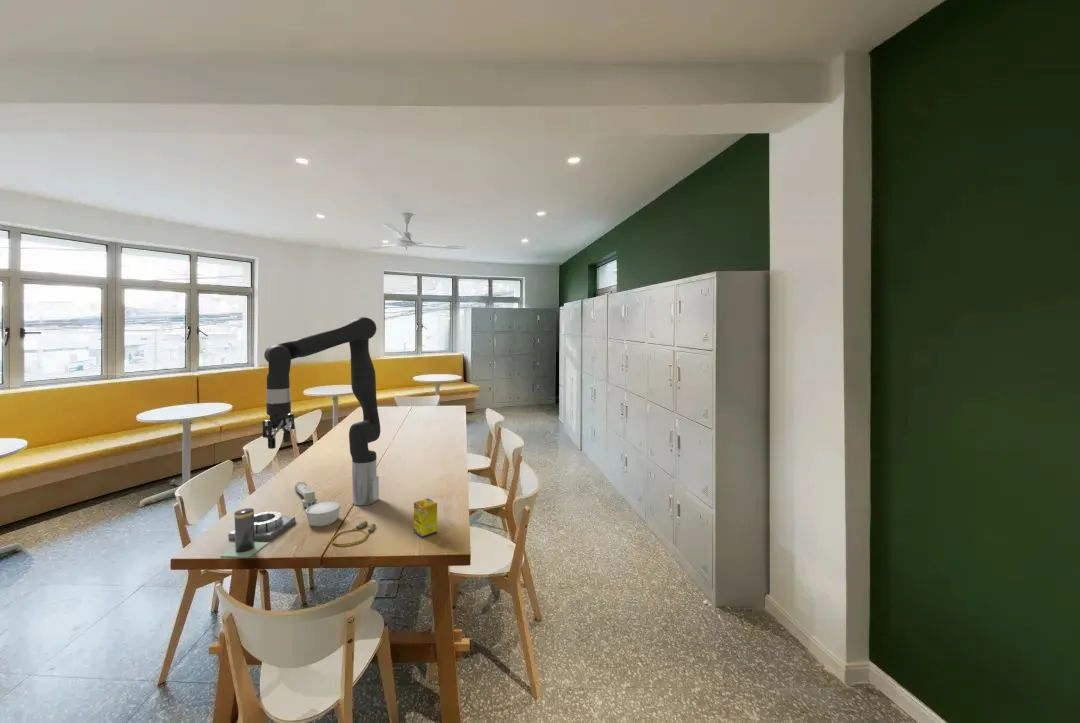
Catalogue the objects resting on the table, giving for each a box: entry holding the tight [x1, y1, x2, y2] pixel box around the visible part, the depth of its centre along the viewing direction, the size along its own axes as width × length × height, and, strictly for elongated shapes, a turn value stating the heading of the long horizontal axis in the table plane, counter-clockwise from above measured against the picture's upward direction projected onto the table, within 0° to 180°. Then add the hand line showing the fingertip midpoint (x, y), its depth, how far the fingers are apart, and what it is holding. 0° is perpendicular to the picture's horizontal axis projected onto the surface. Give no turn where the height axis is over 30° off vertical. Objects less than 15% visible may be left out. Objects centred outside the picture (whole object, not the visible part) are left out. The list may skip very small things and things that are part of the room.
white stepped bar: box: [294, 481, 318, 509], centre depth 177 cm, size 5×7×25 cm
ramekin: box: [305, 501, 341, 527], centre depth 156 cm, size 11×11×5 cm
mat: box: [220, 541, 269, 559], centre depth 135 cm, size 9×9×1 cm
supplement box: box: [413, 497, 438, 539], centre depth 148 cm, size 6×6×11 cm
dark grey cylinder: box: [233, 507, 256, 552], centre depth 135 cm, size 5×5×12 cm
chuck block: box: [227, 510, 296, 541], centre depth 148 cm, size 14×14×4 cm
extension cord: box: [331, 520, 377, 547], centre depth 145 cm, size 12×16×2 cm
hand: (279, 445), depth 154 cm, fingers open, 8 cm apart
